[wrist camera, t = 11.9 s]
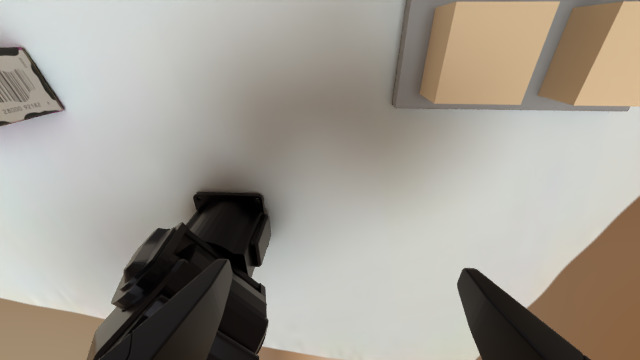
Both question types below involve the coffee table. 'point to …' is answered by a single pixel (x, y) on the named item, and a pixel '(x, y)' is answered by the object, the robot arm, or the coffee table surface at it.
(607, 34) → the base board
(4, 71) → the candy bar box
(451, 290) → the coffee table surface
